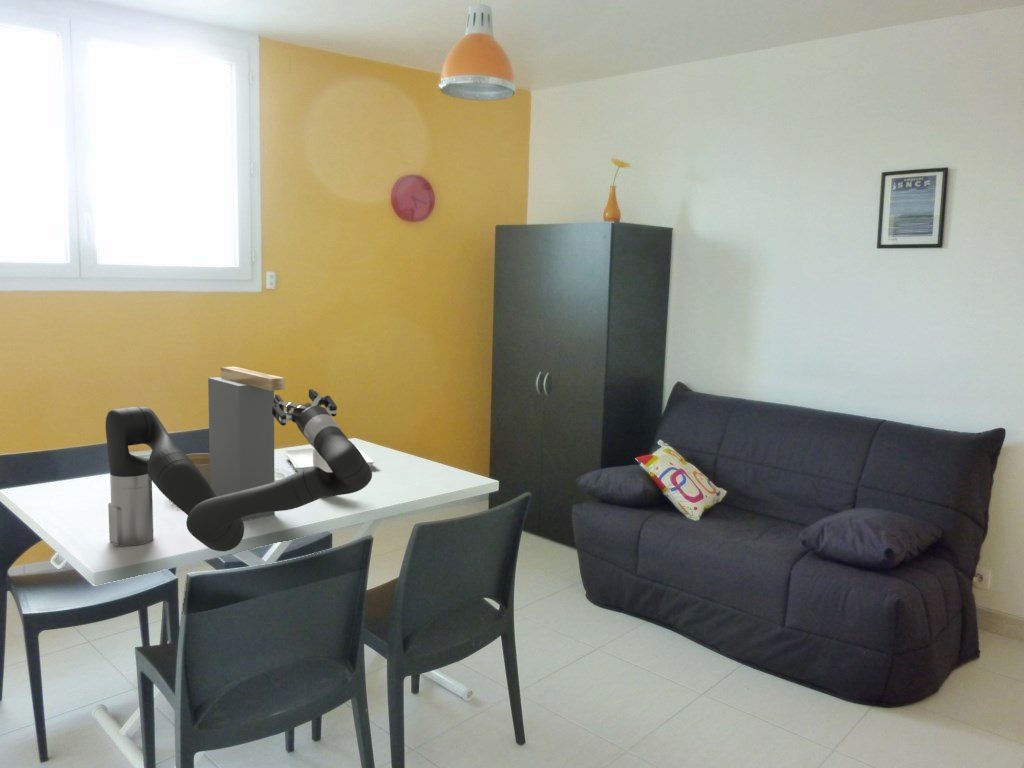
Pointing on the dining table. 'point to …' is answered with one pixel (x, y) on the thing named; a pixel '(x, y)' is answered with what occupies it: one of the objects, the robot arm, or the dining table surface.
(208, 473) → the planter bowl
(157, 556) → the dining table surface
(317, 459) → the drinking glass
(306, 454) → the square plate
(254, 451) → the stand
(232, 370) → the block
